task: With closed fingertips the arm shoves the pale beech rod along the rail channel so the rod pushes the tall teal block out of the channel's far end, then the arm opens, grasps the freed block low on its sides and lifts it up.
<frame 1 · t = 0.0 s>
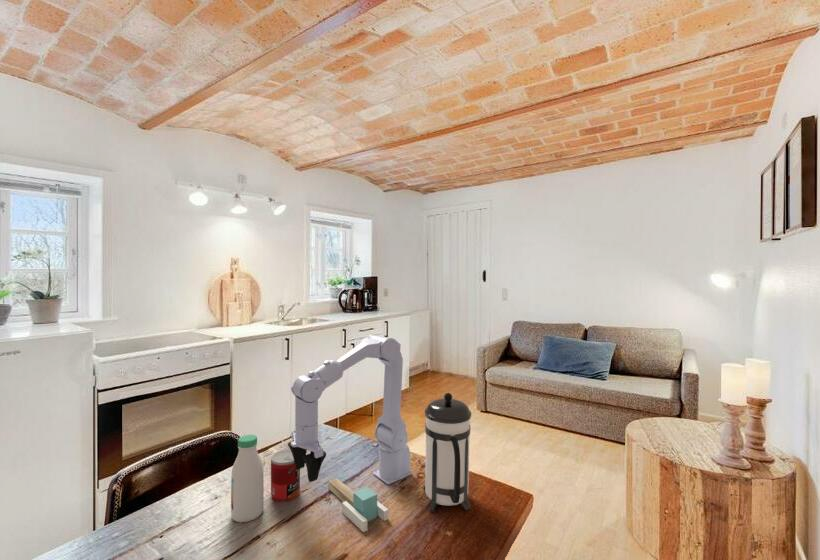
hand: (306, 474, 100), 10 cm above the table, fingers open, 7 cm apart
rod: (344, 499, 107), on the table
milk bottle: (247, 514, 99), on the table
canned food: (285, 495, 108), on the table
coffee press: (448, 503, 105), on the table
channel: (364, 515, 99), on the table
block: (365, 516, 99), on the table
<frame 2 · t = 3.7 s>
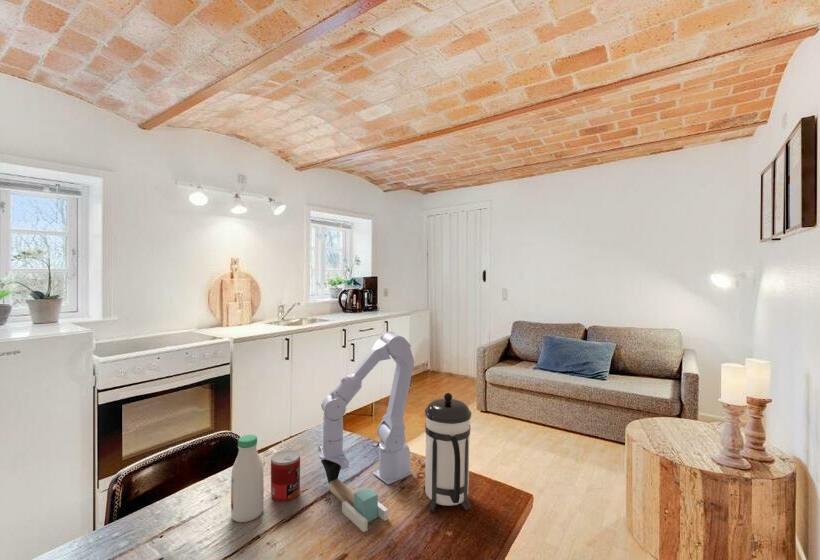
hand: (332, 483, 112), 1 cm above the table, fingers closed
rod: (346, 500, 106), on the table, touching block, gripper
block: (365, 516, 99), on the table, touching rod
everything else where it was.
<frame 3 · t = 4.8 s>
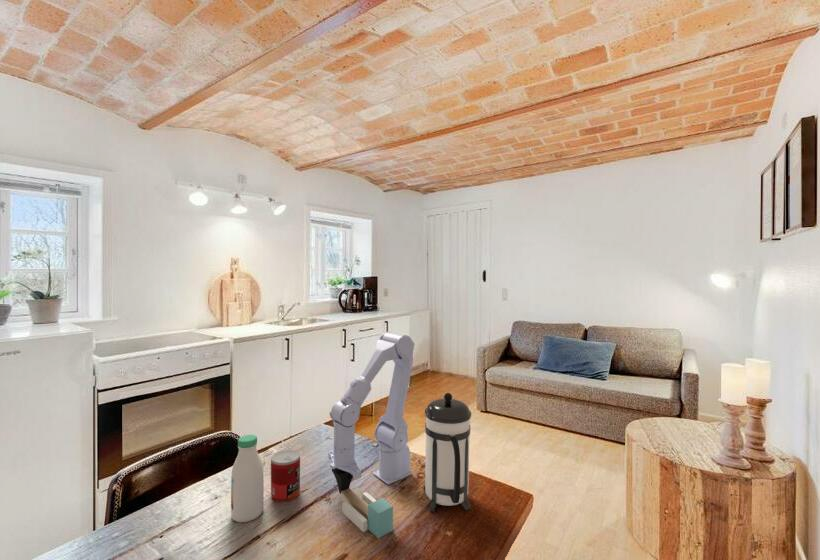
hand: (343, 493, 107), 1 cm above the table, fingers closed
rod: (358, 511, 101), on the table, touching block, gripper
block: (380, 529, 94), on the table, touching rod
everything else where it was.
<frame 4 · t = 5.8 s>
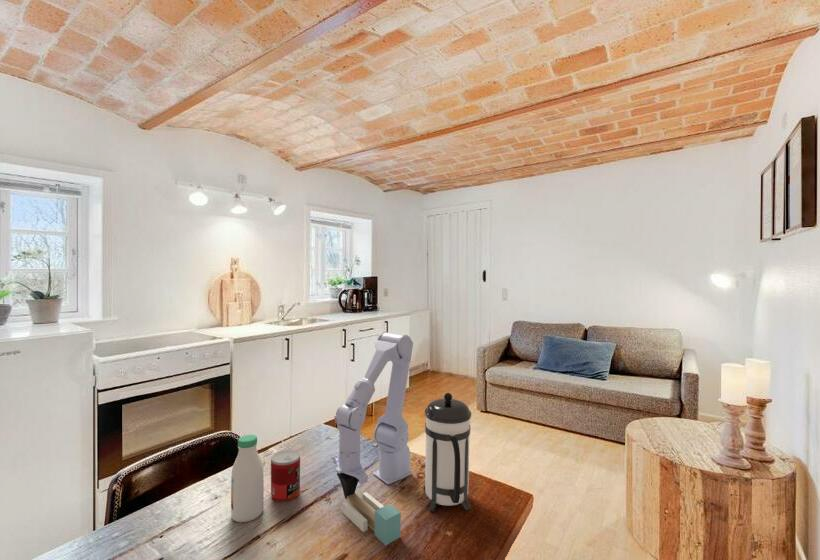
hand: (349, 497, 105), 1 cm above the table, fingers closed
rod: (365, 517, 99), on the table, touching block, gripper
block: (387, 536, 92), on the table, touching rod
everything else where it was.
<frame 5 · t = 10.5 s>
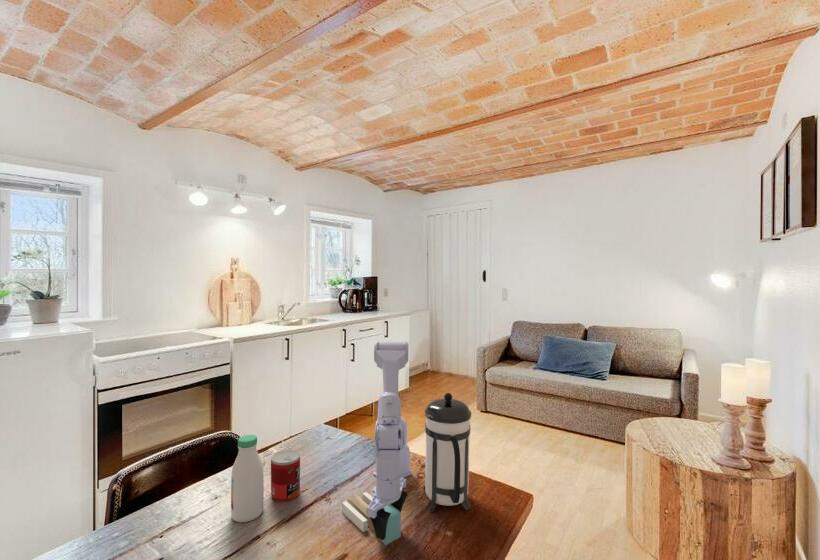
hand: (387, 529, 92), 1 cm above the table, fingers closed on block, 6 cm apart
rod: (365, 518, 99), on the table
block: (387, 535, 92), on the table, touching gripper
everything else where it was.
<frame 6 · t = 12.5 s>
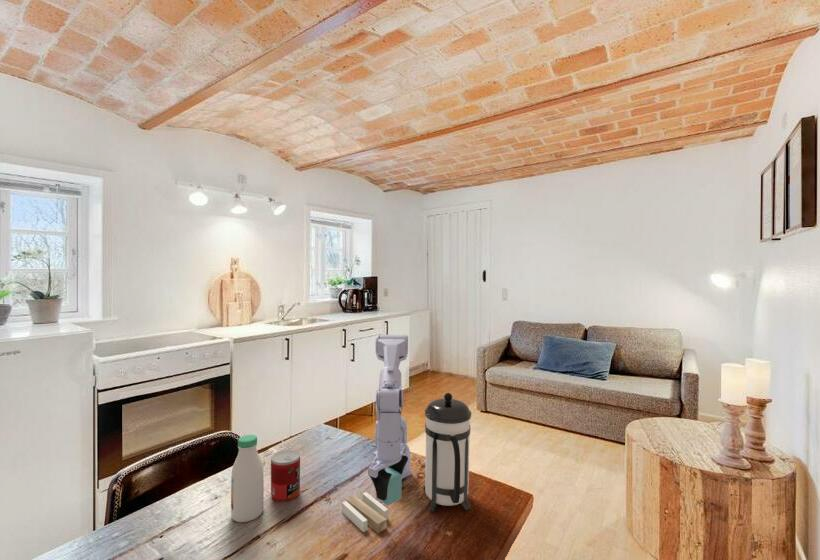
hand: (388, 492, 94), 9 cm above the table, fingers closed on block, 6 cm apart
block: (388, 498, 94), point 8 cm above the table, touching gripper
everything else where it was.
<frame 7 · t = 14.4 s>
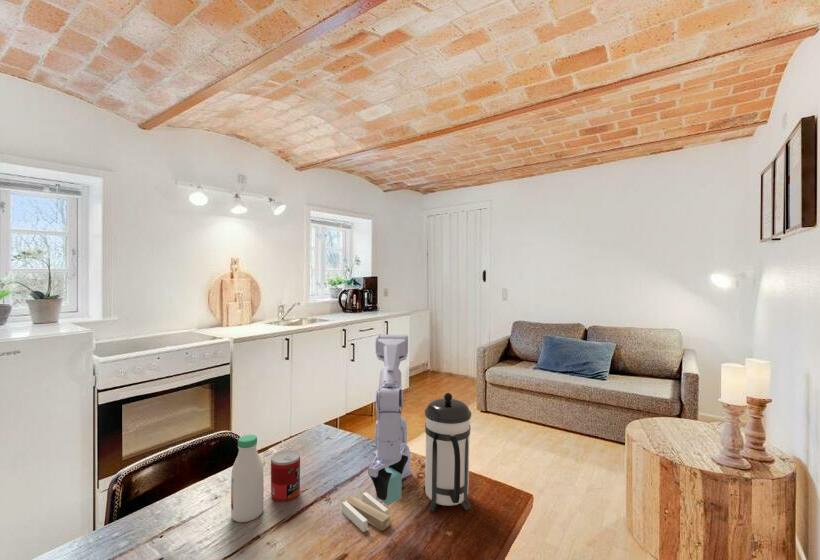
hand: (388, 491, 94), 9 cm above the table, fingers closed on block, 6 cm apart
block: (388, 497, 94), point 8 cm above the table, touching gripper
at the end: the gripper is holding block; block point 7.9 cm above the table; block inside the target area (2.6 cm from its centre), point 7.9 cm above the table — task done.
